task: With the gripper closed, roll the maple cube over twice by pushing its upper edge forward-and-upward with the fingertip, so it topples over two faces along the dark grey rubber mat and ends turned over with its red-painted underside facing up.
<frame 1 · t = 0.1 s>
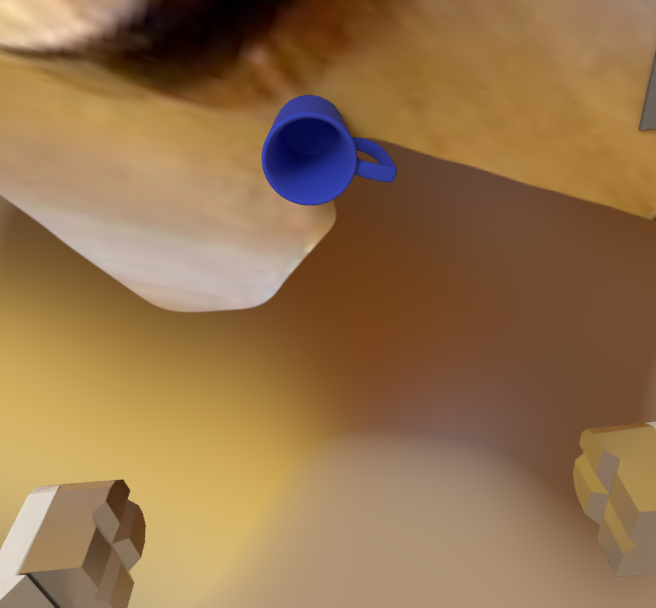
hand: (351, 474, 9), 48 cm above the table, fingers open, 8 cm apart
mug: (327, 131, 54), on the table
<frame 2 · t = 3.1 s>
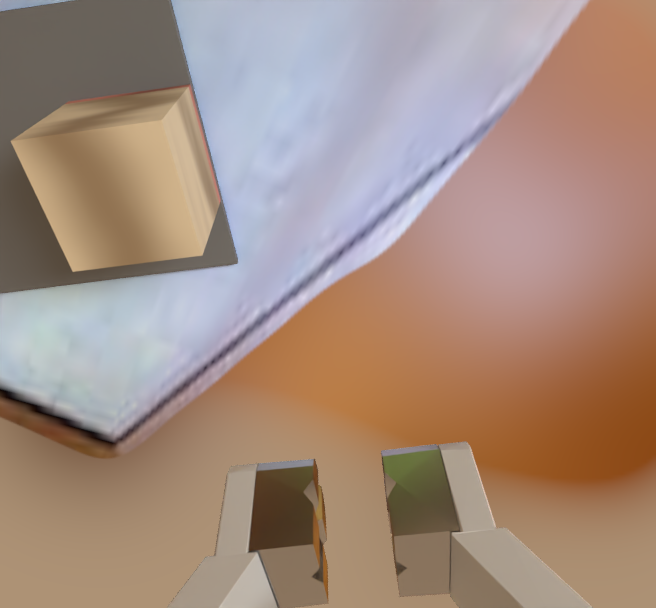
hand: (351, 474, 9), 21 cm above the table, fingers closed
mat: (2, 171, 27), on the table
cube: (149, 153, 27), resting on mat
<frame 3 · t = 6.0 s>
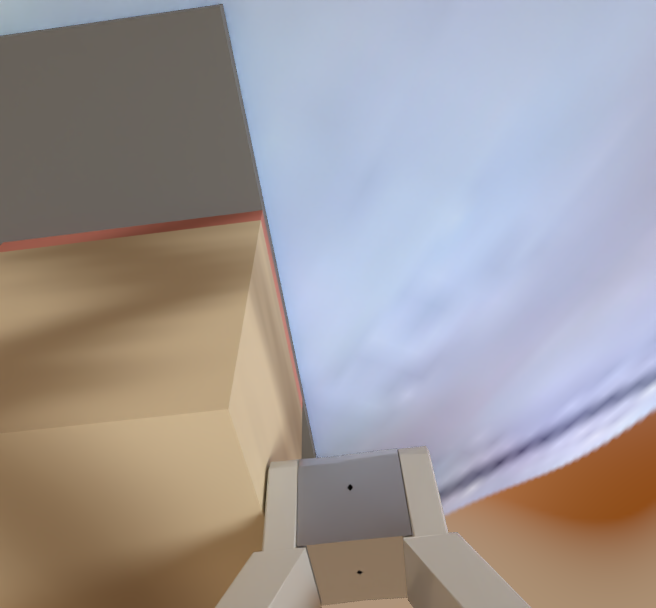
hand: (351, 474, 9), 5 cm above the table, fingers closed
cube: (170, 330, 14), resting on mat, touching gripper
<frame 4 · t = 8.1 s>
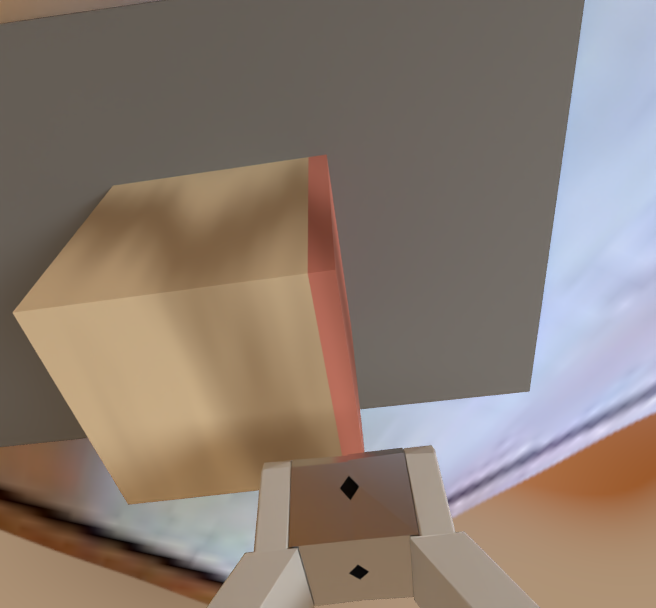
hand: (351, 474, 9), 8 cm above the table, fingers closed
mat: (193, 260, 16), on the table
cube: (345, 307, 13), point 3 cm above the table, tilted 90°, touching mat
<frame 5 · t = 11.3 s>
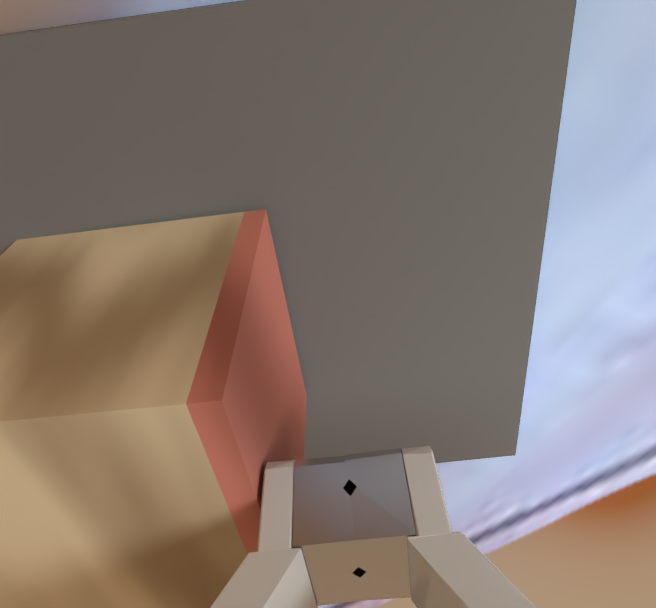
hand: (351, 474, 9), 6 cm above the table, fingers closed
mat: (126, 318, 14), on the table
cube: (280, 397, 11), point 4 cm above the table, tilted 92°, touching gripper, mat
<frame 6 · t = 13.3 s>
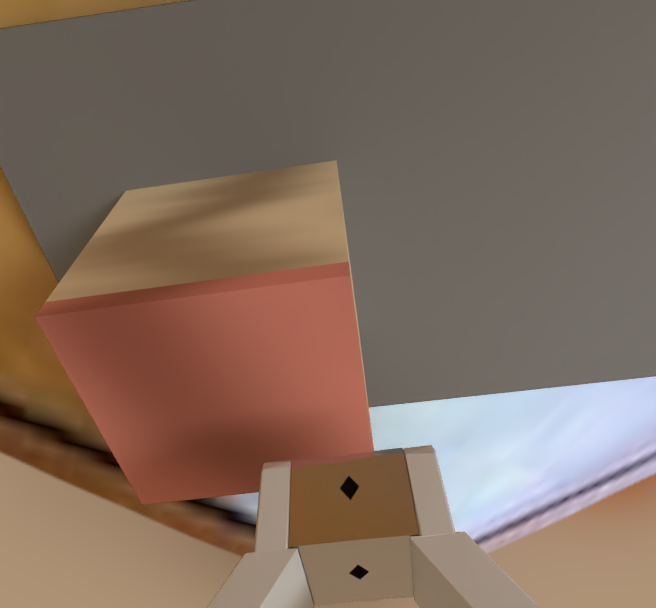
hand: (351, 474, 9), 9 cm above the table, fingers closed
mat: (406, 234, 16), on the table
cube: (229, 409, 11), point 6 cm above the table, tilted 180°, touching mat
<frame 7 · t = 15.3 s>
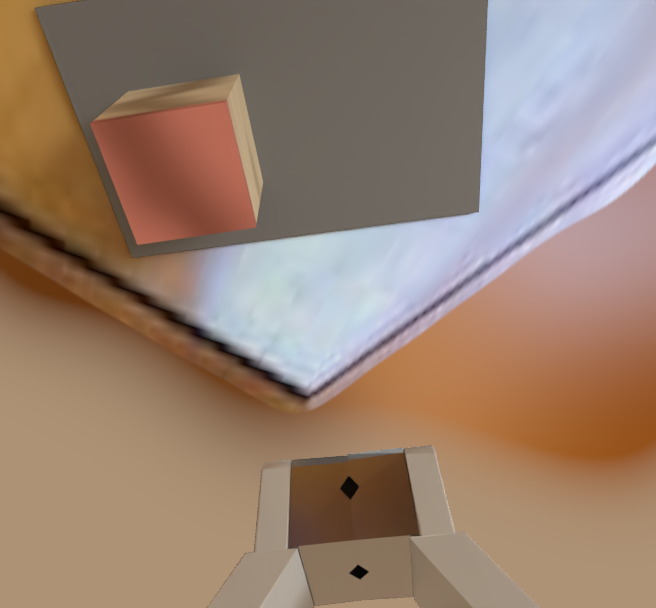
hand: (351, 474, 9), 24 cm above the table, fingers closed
mat: (284, 120, 29), on the table
cube: (178, 179, 24), point 6 cm above the table, tilted 180°, touching mat
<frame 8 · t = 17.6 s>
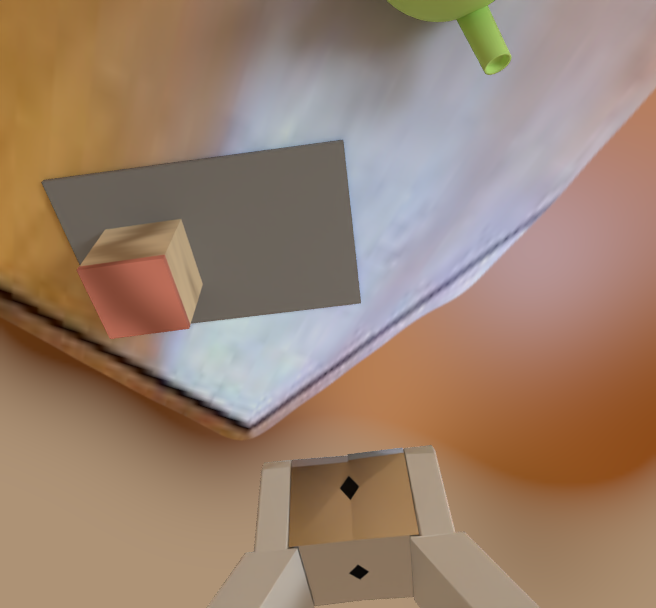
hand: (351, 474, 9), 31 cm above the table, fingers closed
mat: (215, 245, 42), on the table
cube: (135, 300, 37), point 6 cm above the table, tilted 180°, touching mat
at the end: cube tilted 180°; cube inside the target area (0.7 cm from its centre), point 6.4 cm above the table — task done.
